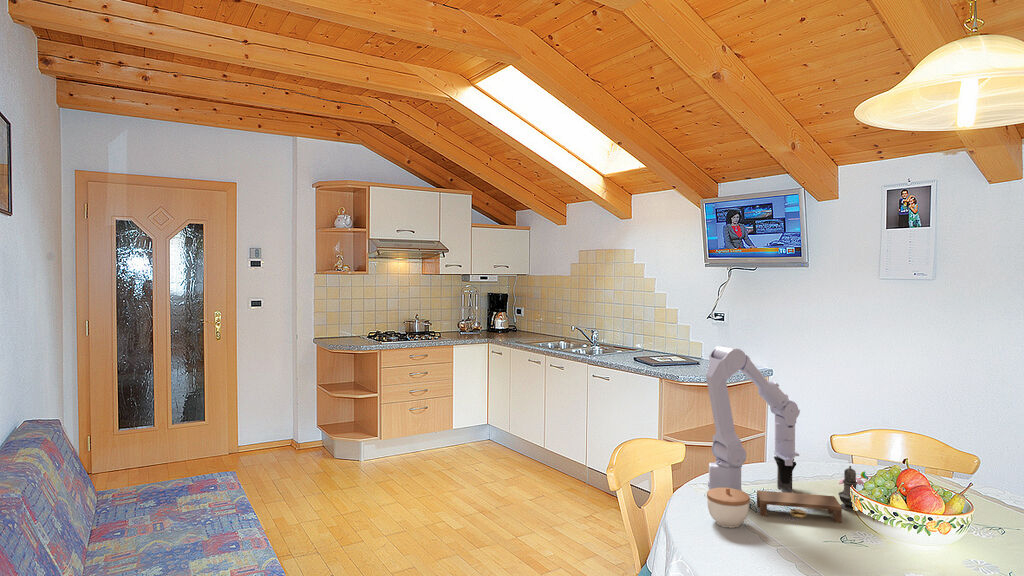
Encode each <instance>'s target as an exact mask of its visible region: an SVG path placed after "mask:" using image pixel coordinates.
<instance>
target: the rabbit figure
mask: <svg viewBox="0 0 1024 576" xmlns="http://www.w3.org/2000/svg"><path fill="white" fill-rule="evenodd" d="M860 477H861V478H862V479H864V481H867V480H868V479H870V477H868V475H866V471H862V472H861V473H860ZM861 478H859V477H856V480H857V484H859V485H861V484H862V486H863V484H864V481H863V480H862V479H861ZM843 480H844V478H842V479H840V480H839V481H838V484H839V485H842V486H843V487H844V482H843ZM857 484H856V485H857Z"/></svg>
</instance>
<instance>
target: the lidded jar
mask: <svg viewBox="0 0 1024 576" xmlns="http://www.w3.org/2000/svg"><path fill="white" fill-rule="evenodd" d="M750 497H751V496H750V495H749V494H748V492H745V491H743V490H742V491H741V490H737V489H733V488H713V489H710V490H709V489H708V490H707V491H706V498H707V501H706V503H707V509H708V512H709V514H710V516H711V518H712V519H713V520H714V521H715V523H716V524H717V525H718V524H719V525H718V526H720V525H721V526H720V527H723V528H727V527H729V528H731V529H735V527H736V528H739V527H740V526H741V524H743V523H744V522H745V521H746V519H747V518H748V515H749V509H750V499H751V498H750Z"/></svg>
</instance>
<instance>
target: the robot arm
mask: <svg viewBox="0 0 1024 576" xmlns="http://www.w3.org/2000/svg"><path fill="white" fill-rule="evenodd" d="M708 359H709V363H708V366H707V372H706V374H705V375H706V376H705V378H706V385H707V389H708V395H709V401H710V406H711V410H712V416H713V417H712V418H713V424H714V427H715V434H714V435H712V444H711V453H712V456H714V457H715V462H708V481H707V487H708V490H710V489H713V488H733V489H737V490H741V491H743V488H742V467H743V465H744V463H745V462H746V459H747V451H746V450H745V448H744V447H743V444H742V440H741V439H740V437H739V436H738V435H737V432H736V430H735V423H734V419H733V413H732V406H731V400H730V396H729V395H730V394H729V389H728V384H727V382H728V380H729V378H731V377H732V376H733V375H735V374H737V372H739V371H741V373H742V374H744V375H745V376H746V377H747V378H748V379H749V380H750V382H751V383H753V384H754V385H755V386H756V387H757V388H758V389H757V394H758V395H759V396H760V397H761V398H762V400H764V401H765V403H766V404H767V405H768V406H769V407H770V408H769V409H770V412H771V413H772V414H774V451H773V454H774V456H773V459H774V461H775V464H776V466H777V465H778V467H779V471H780V478H781V482H782V483H783V484H789V483H790V479H791V475H792V476H793V471H794V470H795V467H796V466H797V462H796V461H795V458H796V457H800V453H799V452H797V451H796V424H797V419H798V417H799V415H800V413H801V412H800V411H801V409H799V407H798V404H797V403H796V402H795V401H793V400H790V399H789V395H788V394H786V393H784V391H782V389H780V387H779V386H780V385H779V383H778V382H775V381H772V380H767V379H766V377H764V375H763V374H762V373H761V371H760V370H759V368H758V367H757V366H756V365H755V364H754V363H753V361H752V360H751V358H750V356H749V355H747V354H746V353H745V352H744V351H743V349H740V348H734V347H733V348H732V347H729V346H725V345H717V346H715V347H714V349H713V350H711V352H710V353H709V355H708Z"/></svg>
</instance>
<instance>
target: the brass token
mask: <svg viewBox="0 0 1024 576" xmlns="http://www.w3.org/2000/svg"><path fill="white" fill-rule="evenodd" d="M790 516H791V517H793V518H796V519H806V518H807V512H806V510H802V509H797V508H793V509H790Z"/></svg>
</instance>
